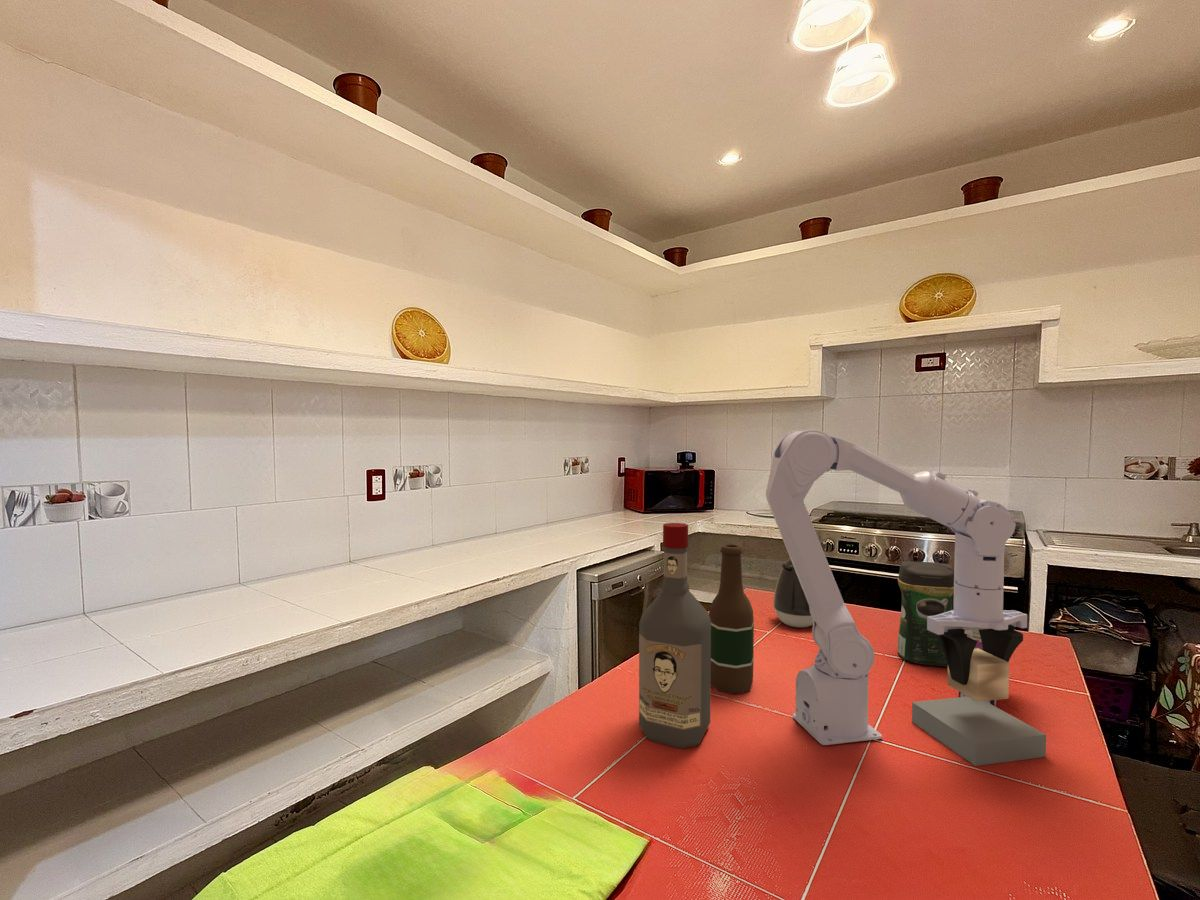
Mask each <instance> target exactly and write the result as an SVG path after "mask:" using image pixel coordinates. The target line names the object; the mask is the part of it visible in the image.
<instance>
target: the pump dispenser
mask: <svg viewBox="0 0 1200 900" xmlns="http://www.w3.org/2000/svg"><path fill="white" fill-rule="evenodd" d="M781 567H782V568H781V570H780V573H779V575H778V579H777V581H776V584H775V589H774V594H773V595H774V596H773V602H772V603H773V608H774V609H775V614H776V616H777V617H778V619H779V620H780V622H782V623H783V624H785V625H786V626H789V627H792V628H799V629H803V628H808V627H811V626H813V619H812V616H811V614H810V609H809V604H808V602H807V599H806V597H805V594H804V592H803V589H802V587H801V584H800V581H799V579H798V576H797V574H796V571H795V569H794V566H793V564H792V561H791V559H790V558H788V560H786V561H785V563H782V565H781Z"/></svg>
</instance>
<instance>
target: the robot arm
mask: <svg viewBox="0 0 1200 900" xmlns="http://www.w3.org/2000/svg"><path fill="white" fill-rule="evenodd" d="M828 470H832V471H838V472H839V471H852V472H853V473H856V474H858V475H861V476H863V477H864V478H867V479H869V480H871V481H873V482H875V483H877V484H879V485H882V486H885V487H886V488H888V489H891V490H893V491H894V492H897V493H899V494H900V497H901V500H902V502H903V504H904V506H906V508H909V509H910V510H913V511H915V512H917V513H919V514H921V515H923V516H925V517H927V518H928V519H931V520H933V521H935V522H937V523H939V524H941V525H943V526H945V527H947V528H949V529H950V530H951V531H952V532H953V533H954V566H953V567H954V568H953V569H954V597H953V609H952V610H951V611H948V612H945V613H942V614H939V615H935V616H928V617H927V630H929V631H931V632H933V633H934V635H935V636H936V638H937V639H938V641H939V643H940V645H941V647H942V649H943V652H944V654H945V657H946V660H947V663H948V666H947V668H948V667H949V671H950V675H951V679H952V680H954V681H956V682H958V683H960V684H962V685H967V683H968V679H969V671H970V661H971V657H972V653H973V651H974V648H975V646H976V644H977V643H978V642H977V641H976V640H974V639H971V638H969V637H967V634H965V631H966V630H979V633H980V637H981V641H982V647H983V651H985V652H987V653H989V654H992V655H994V656H996V657H998V658H1000V659H1003V660H1005V661H1007V662H1009V663H1010V660H1011V657H1012V655H1013V654H1014V652H1015V651H1016V649H1017V648H1018V647H1019V645H1021V643H1022V642H1023V641H1024V633H1022V632H1020V631H1019V630H1015V628H1016V627H1017V628H1019V629H1027V628H1028V614H1027V613H1023V612H1021V611H1018V610H1015V609H1014V610H1013V609H1011V610H1006V609H1004V588H1005V586H1004V584H1005V583H1004V582H1005V581H1004V579H1005V551H1006V543H1007V541H1008V540H1009V539H1011V537H1012V535H1013V534H1014V533H1015V530H1016V526H1017V525H1016V522H1014V521H1013V520H1012V515H1011V513H1010V512H1008V509H1007V508H1006V507H1005V506H1004V505H1002V504H1000V503H998V502H996V501H991V500H988V499H987V500H986V499H982V498H980V497H979V496H978V495H979V493H980V492H979V491H977V490H975V489H973V488H967V489H965V488H963V487H961V486H959V485H957V484H955V483H953V482H951V481H948V480H947V479H946V478H947V474H944V473H942V472H940V471H936V470H933V471H932V472H930V471H928V470H923V471H920V472H916V473H911V472H910V471H907V470H905V469H903V468H902V467H899V466H898V465H896V464H894V463H892V462H890V461H889V460H887V459H884V458H883V457H881V456H879V455H877V454H874V453H873V452H871V451H869V450H867V449H866V448H863V447H862V446H860V445H858V444H856V443H854V442H851V441H848V440H846V439H844V438H841V437H837V436H835V435H833V436H832V435H828V434H827V433H826V432H824V431H821V430H818V429H808V430H803V429H796V430H793V431H790V432H788V433H786V434H785V435H784V436H783V437H782V439H780V442H778V445H777V446H776V448H775V449H774V451H773V452H772V460H771V466H770V472H769V476H768V480H767V485H766V491H765V496H766V501H767V503H768V506H769V509H770V510H771V513H772V516H773V520H774V521H775V523H776V525H777V529H778V531H779V533H780V536H781V539H782V541H783V544H784V546H785V549H786V551H787V554H788V555H789V556H788V557H789V559H791V561H792V564H793V566H794V569H795V571H796V574H797V576H798V579H799V581H800V584H801V587H802V589H803V592H804V594H805V597H806V599H807V602H808V604H809V609H810V614H811V616H812V619H813V625H812V630H811V631H812V639H813V641H814V643H815V644H816V645H817V647H818V648H819V650H818V652H817V654H816V655H815V658H814V664H812V665H810V667H808V668H806V669H801V670H799V671H798V673H797V675H796V678H795V712H794V713H792V718H793V719H794V720H795V721H796V722H797V723H798V724H799V725H800V726H802V727H803V728H804V730H805V731H807V733H808V734H810V735H811V736H812V738H814V739H815V740H816V741H817V742H818V743H819V744H820V745H822V746H829V745H839V744H846V743H855V742H856V743H857V742H864V741H873V740H880V739H882V738H883V735H882V733H880V732H879V731H878V730H877V729H876V728H874V727H873V726H872V725H870V724H869V674H870V673H869V672H870V670H871V669H872V668H873V665H874V663H875V659H876V658H875V656H876V655H875V651H874V647H873V646H872V644H871V642H870V641H869V640H868V639H867V638H866V637H865V636H864V635H863V634H862V633H860V631H859V629H858V628H857V625H856V622H855V620H854V619H853V616H852V614H851V612H850V611H849V610H848V607H847V606H846V604H845V601H844V599H843V596H842V593H841V590H840V588H839V587H838V584H837V581H836V580H835V577H834V575H833V571H832V569H831V566H830V564H829V561H828V559H827V557H826V555H825V551H824V549H823V547H822V544H821V541H820V540H819V537H818V534H817V532H816V529H815V527H814V525H813V522H812V520H811V519H812V518H811V516H810V514H809V512H808V509H807V506H806V503H805V498H806V497H807V494H808V493H809V491H810V490H811V488H812V486H813V485H814V482H815V481H817V480H818V479H819V478H820V477H822V476H823V475H825V473H827V472H828Z"/></svg>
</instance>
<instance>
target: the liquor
mask: <svg viewBox="0 0 1200 900" xmlns="http://www.w3.org/2000/svg"><path fill="white" fill-rule="evenodd" d="M662 525H663V526H662V547H663V581H662V582H663V583H662V584H661V591H660V593H658V594H657V596H656V597H655V598H654V600H653V601H652V602H651V603H650V604H649V606H648V607H647V608H646V609H645V610H644V612H642V614H641V616H640V620H639V621H638V627H639V628H638V655H639V656H638V726H639V728H640V729H641V731H642V733H643V734H644V735H645V736H646V738H647V739H648V740H649V741H651V742H655V743H659V744H662V745H667V746H670V747H674V748H679V749H687V748H692V747H697V746H699V744H700V743H701V741H702V739H703V737H704V735H705V733H706V731H707V729H708V727H709V725H710V723H711V691H712V690H711V687H712V686H711V619H710V617H709V611H707V609H705V607H704V606H703V605H702V604H701V603H700V602H699V601H698V599H697V598H696V597H695V596H694V595H693V593H692V592H691V591H690V585H689V582H688V548H689V524H687V523H682V522H667V523H663V524H662Z"/></svg>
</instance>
